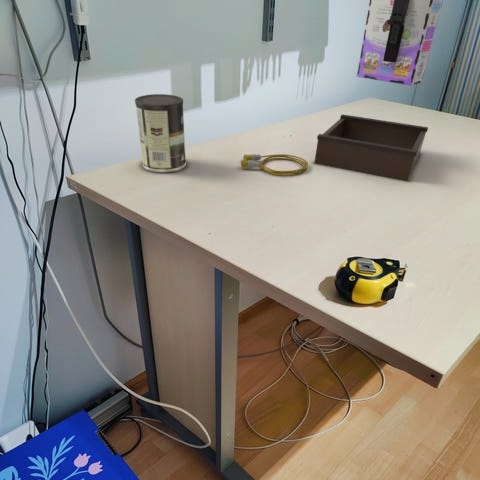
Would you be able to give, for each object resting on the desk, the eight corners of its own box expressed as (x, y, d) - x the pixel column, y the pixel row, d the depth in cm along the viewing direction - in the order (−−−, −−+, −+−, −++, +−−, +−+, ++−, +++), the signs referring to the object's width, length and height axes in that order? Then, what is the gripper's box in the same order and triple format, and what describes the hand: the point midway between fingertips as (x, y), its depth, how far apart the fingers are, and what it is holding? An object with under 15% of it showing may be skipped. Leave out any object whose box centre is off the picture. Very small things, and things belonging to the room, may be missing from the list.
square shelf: (420, 153, 113) (428, 127, 109) (408, 181, 97) (416, 152, 93) (337, 139, 120) (342, 114, 116) (313, 163, 104) (317, 135, 100)
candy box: (422, 83, 95) (447, -10, 84) (410, 86, 91) (434, -10, 81) (368, 74, 102) (385, -13, 91) (355, 76, 98) (371, -13, 88)
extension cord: (253, 153, 108) (253, 145, 107) (312, 163, 104) (314, 155, 103) (235, 168, 99) (235, 159, 98) (299, 180, 95) (300, 171, 94)
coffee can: (179, 155, 105) (175, 92, 96) (191, 170, 98) (189, 103, 89) (137, 159, 102) (130, 94, 93) (147, 175, 94) (140, 106, 85)
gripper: (411, -78, 88) (384, 52, 102) (394, -89, 73) (365, 63, 88) (449, -78, 85) (416, 55, 100) (440, -90, 71) (402, 67, 86)
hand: (392, 59), depth 94 cm, fingers closed on candy box, 7 cm apart
